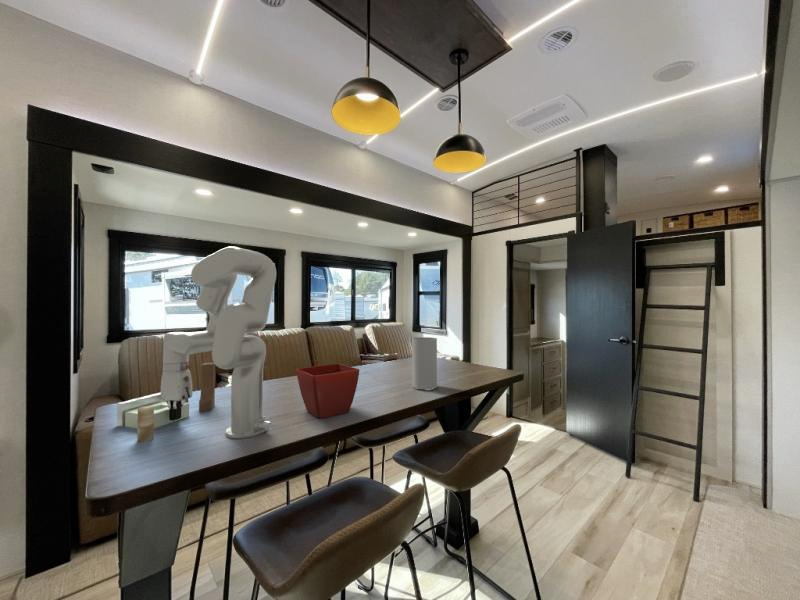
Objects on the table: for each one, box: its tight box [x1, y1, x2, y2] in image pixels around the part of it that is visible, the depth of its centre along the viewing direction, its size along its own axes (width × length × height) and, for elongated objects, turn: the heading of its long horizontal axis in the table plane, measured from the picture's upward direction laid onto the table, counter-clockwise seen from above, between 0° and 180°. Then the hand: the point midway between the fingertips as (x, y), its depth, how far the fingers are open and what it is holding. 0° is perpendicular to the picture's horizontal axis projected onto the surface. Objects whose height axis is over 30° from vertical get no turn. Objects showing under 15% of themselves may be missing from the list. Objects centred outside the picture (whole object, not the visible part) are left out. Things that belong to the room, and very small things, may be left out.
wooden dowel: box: [136, 406, 155, 443], centre depth 101 cm, size 4×4×10 cm
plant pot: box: [295, 363, 360, 419], centre depth 128 cm, size 19×19×17 cm
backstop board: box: [116, 392, 164, 428], centre depth 119 cm, size 2×15×8 cm, turn 163°
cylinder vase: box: [411, 336, 438, 390], centre depth 165 cm, size 12×12×25 cm
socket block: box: [124, 402, 190, 430], centre depth 117 cm, size 12×14×5 cm
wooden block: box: [198, 362, 216, 413], centre depth 132 cm, size 9×4×18 cm, turn 24°
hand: (175, 419), depth 114 cm, fingers closed
